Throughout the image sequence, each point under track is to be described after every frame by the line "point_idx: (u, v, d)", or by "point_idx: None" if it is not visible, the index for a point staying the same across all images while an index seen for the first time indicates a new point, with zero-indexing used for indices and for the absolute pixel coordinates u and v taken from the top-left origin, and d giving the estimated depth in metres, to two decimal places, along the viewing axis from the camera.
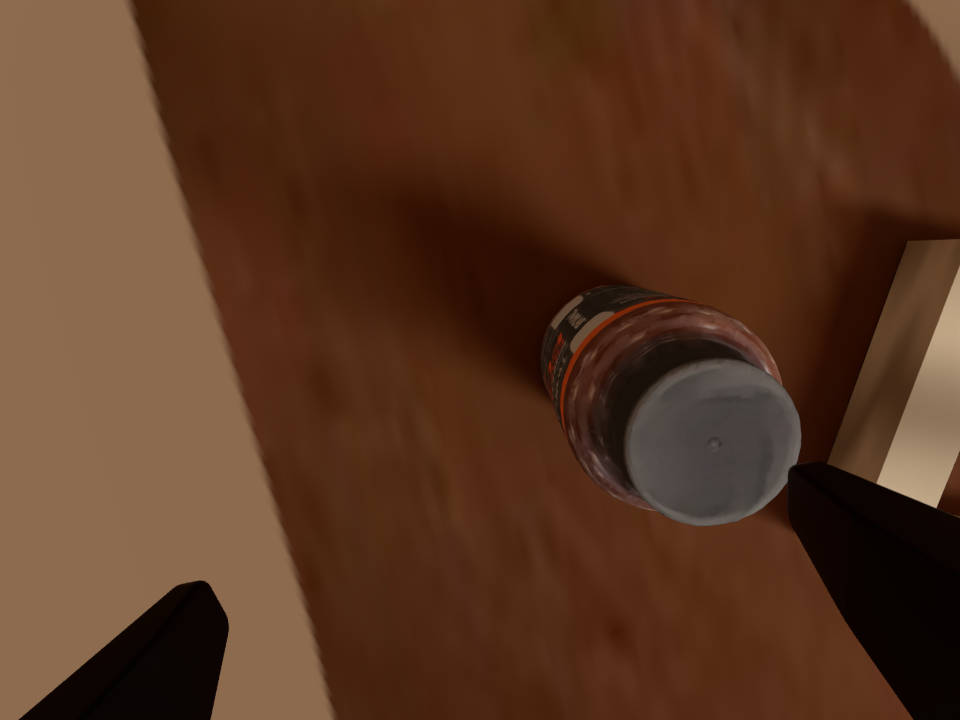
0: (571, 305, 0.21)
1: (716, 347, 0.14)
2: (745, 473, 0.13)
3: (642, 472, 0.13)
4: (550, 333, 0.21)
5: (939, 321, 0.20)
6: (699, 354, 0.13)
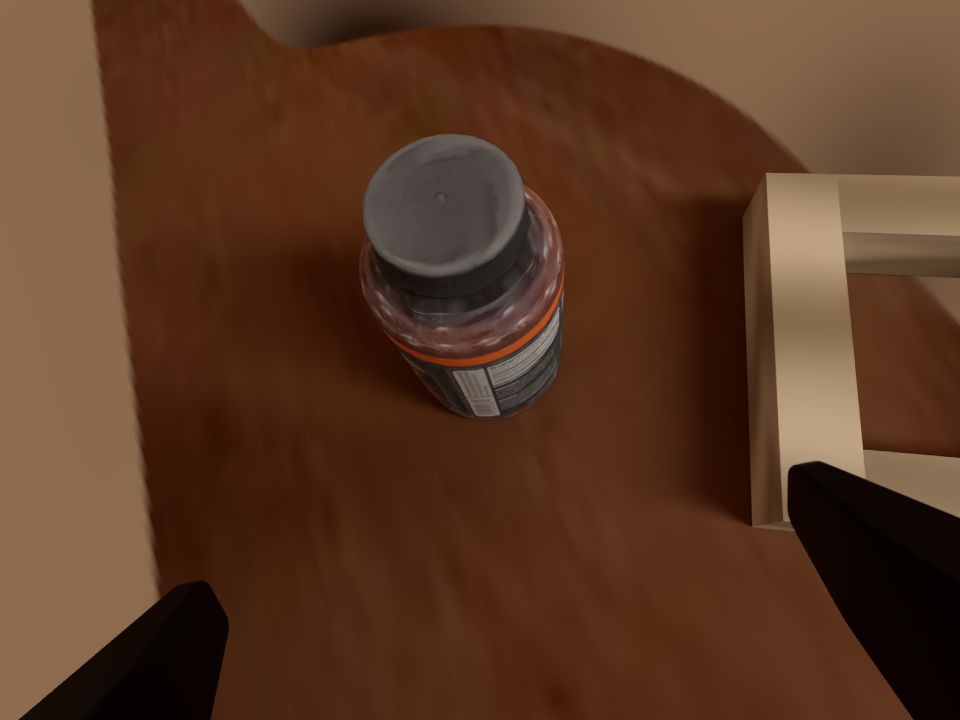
0: None
1: None
2: (475, 216, 0.13)
3: (379, 232, 0.13)
4: None
5: (771, 240, 0.21)
6: None
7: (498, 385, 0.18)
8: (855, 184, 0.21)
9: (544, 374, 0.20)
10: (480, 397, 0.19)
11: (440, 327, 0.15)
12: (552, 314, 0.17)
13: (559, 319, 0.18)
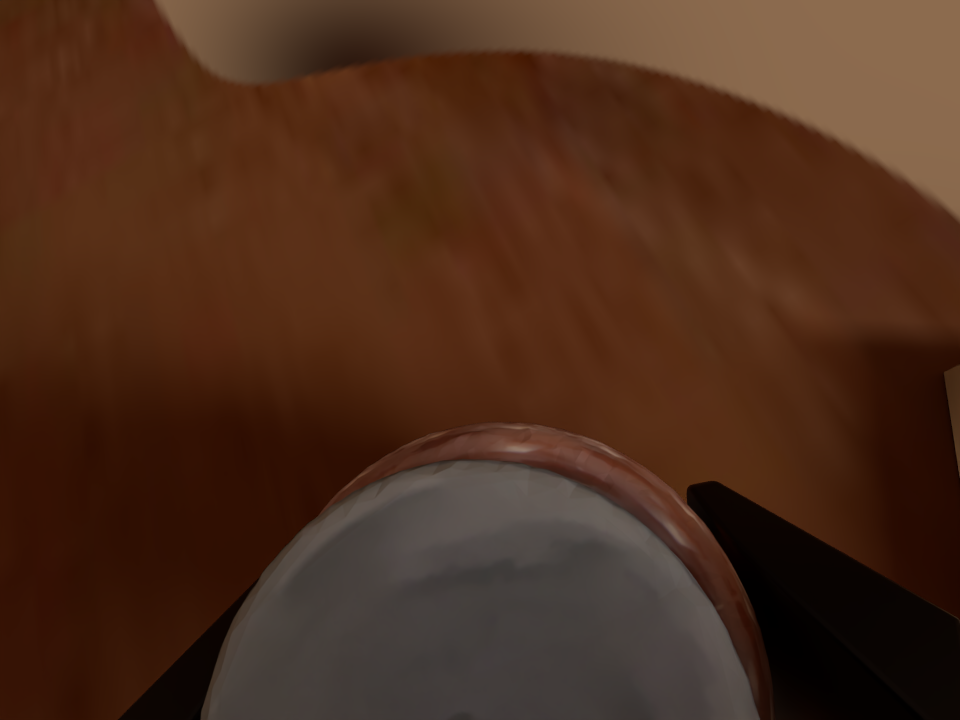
0: None
1: None
2: None
3: None
4: None
5: None
6: None
7: None
8: None
9: None
10: None
11: None
12: None
13: None
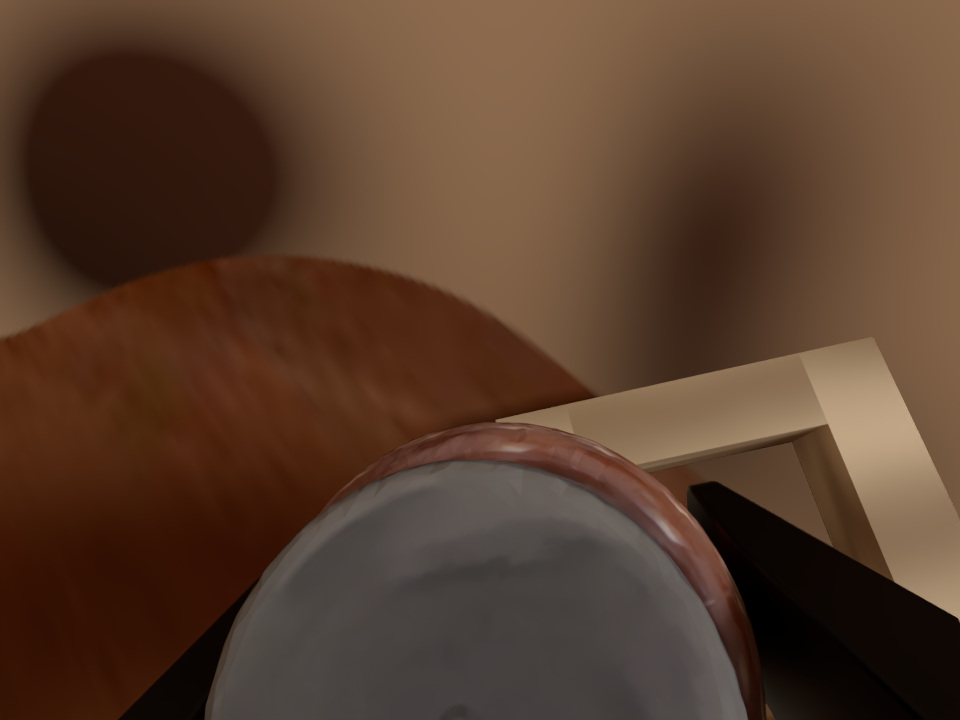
0: None
1: None
2: None
3: None
4: None
5: None
6: None
7: None
8: (586, 411, 0.20)
9: None
10: None
11: None
12: None
13: None
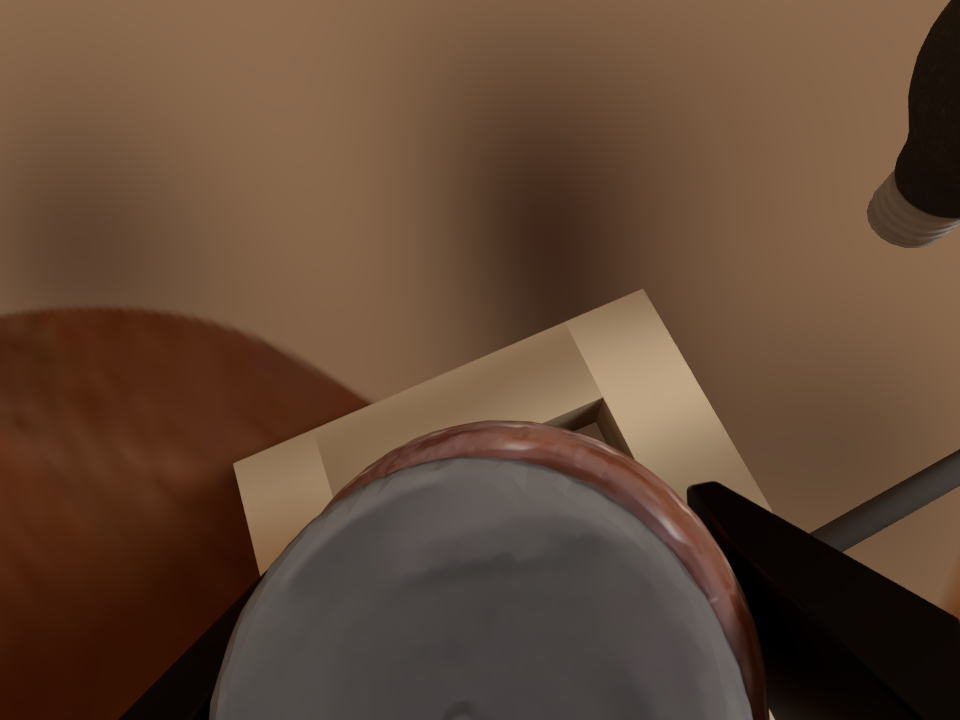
0: None
1: None
2: None
3: None
4: None
5: (259, 563, 0.16)
6: None
7: None
8: (336, 434, 0.16)
9: None
10: None
11: None
12: None
13: None
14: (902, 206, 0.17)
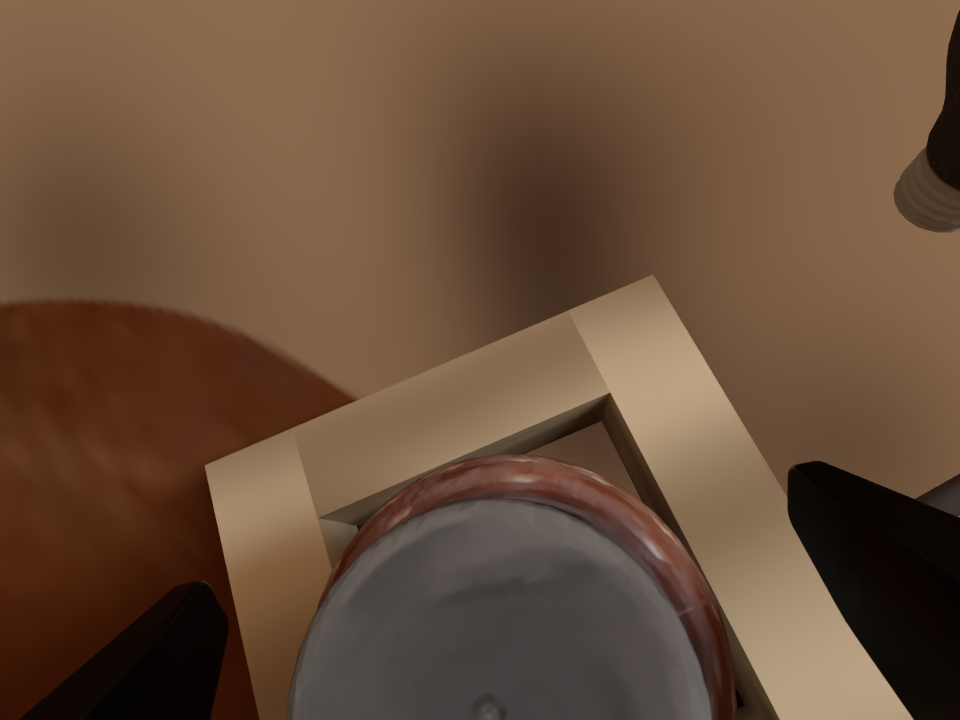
0: None
1: None
2: None
3: None
4: None
5: (230, 575, 0.14)
6: None
7: None
8: (317, 433, 0.15)
9: None
10: None
11: None
12: None
13: None
14: (935, 186, 0.16)
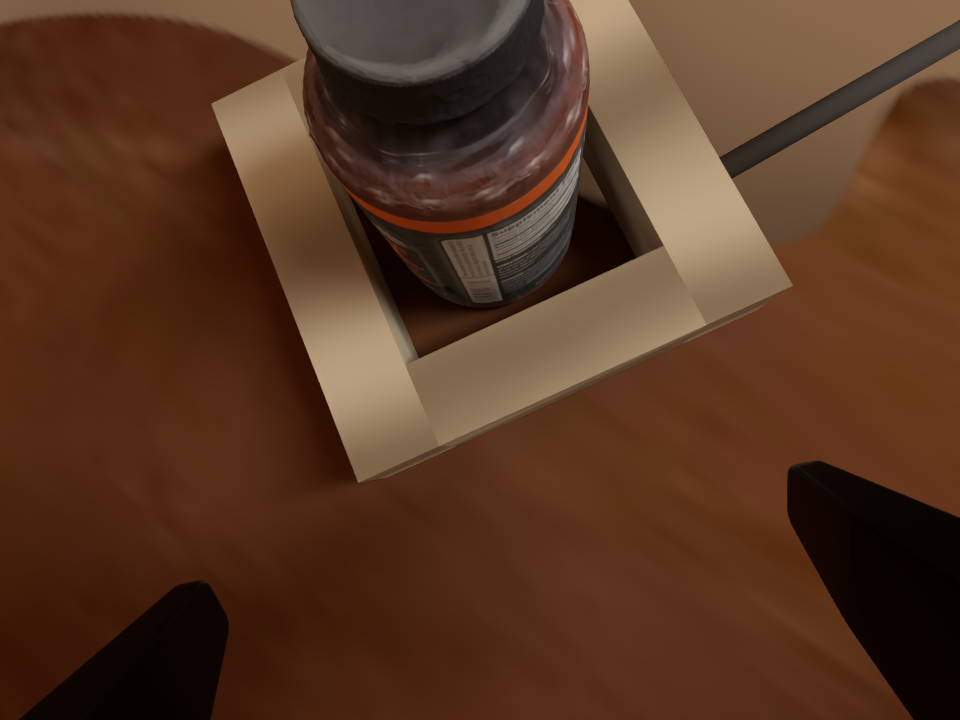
0: None
1: None
2: None
3: (317, 19, 0.09)
4: None
5: (242, 180, 0.18)
6: None
7: (502, 260, 0.14)
8: (302, 71, 0.18)
9: (557, 246, 0.16)
10: (478, 277, 0.15)
11: (421, 175, 0.11)
12: (573, 156, 0.12)
13: (579, 168, 0.14)
14: None
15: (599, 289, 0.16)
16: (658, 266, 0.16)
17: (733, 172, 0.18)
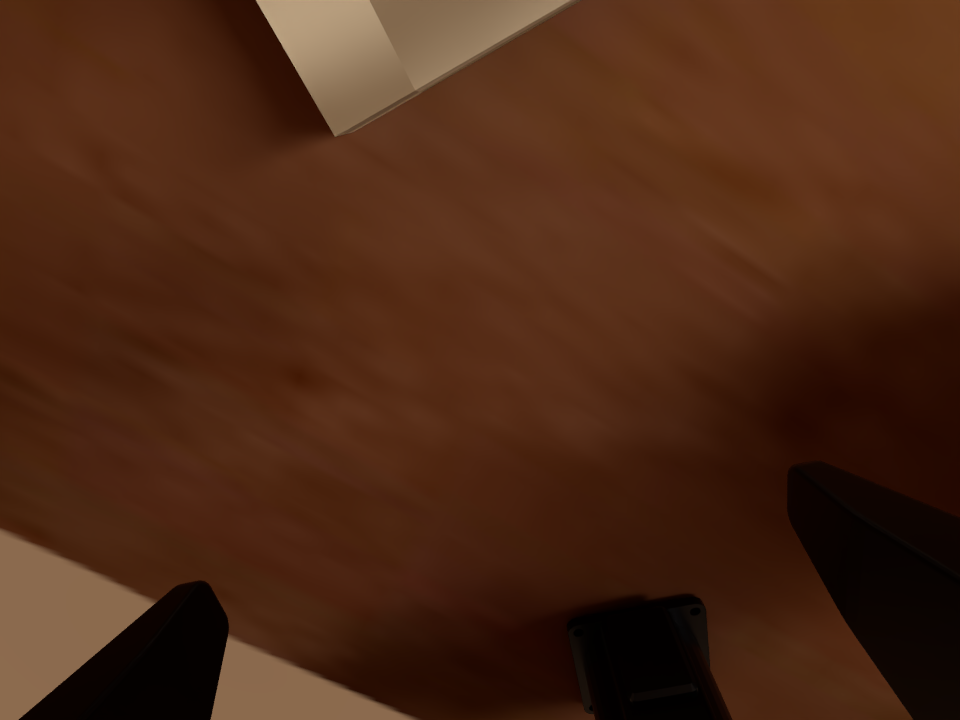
0: None
1: None
2: None
3: None
4: None
5: None
6: None
7: None
8: None
9: None
10: None
11: None
12: None
13: None
14: None
15: None
16: None
17: None
